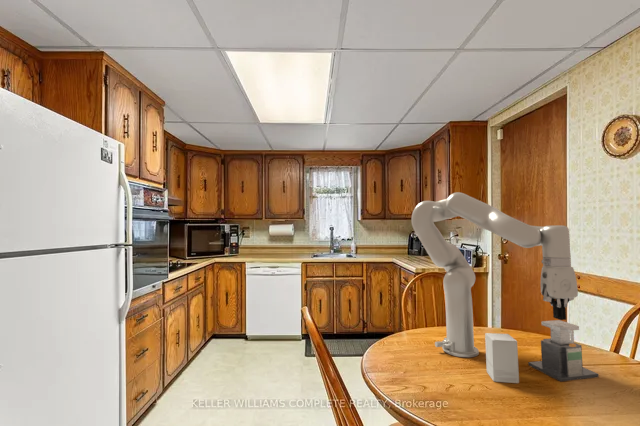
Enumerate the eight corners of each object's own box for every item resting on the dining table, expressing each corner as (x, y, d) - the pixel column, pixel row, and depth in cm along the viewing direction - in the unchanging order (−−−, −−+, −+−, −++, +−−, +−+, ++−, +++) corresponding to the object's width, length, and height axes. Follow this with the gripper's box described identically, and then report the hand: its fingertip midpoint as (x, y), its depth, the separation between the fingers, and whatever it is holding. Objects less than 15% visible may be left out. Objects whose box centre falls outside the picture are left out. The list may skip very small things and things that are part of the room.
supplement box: (519, 383, 98) (518, 341, 99) (493, 381, 99) (491, 339, 100) (510, 373, 105) (509, 333, 106) (485, 371, 107) (484, 332, 107)
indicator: (571, 347, 100) (571, 344, 100) (569, 346, 101) (569, 343, 101) (576, 346, 101) (575, 344, 101) (573, 345, 101) (573, 343, 101)
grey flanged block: (568, 360, 100) (567, 329, 100) (542, 349, 109) (541, 321, 110) (587, 358, 101) (586, 328, 102) (560, 347, 110) (559, 320, 111)
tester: (560, 381, 99) (558, 351, 99) (528, 365, 111) (527, 338, 111) (598, 377, 101) (597, 347, 102) (563, 361, 113) (562, 335, 114)
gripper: (546, 264, 103) (550, 323, 102) (586, 263, 105) (590, 320, 104) (527, 262, 110) (530, 317, 109) (565, 260, 113) (568, 314, 112)
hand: (559, 318), depth 107 cm, fingers closed
